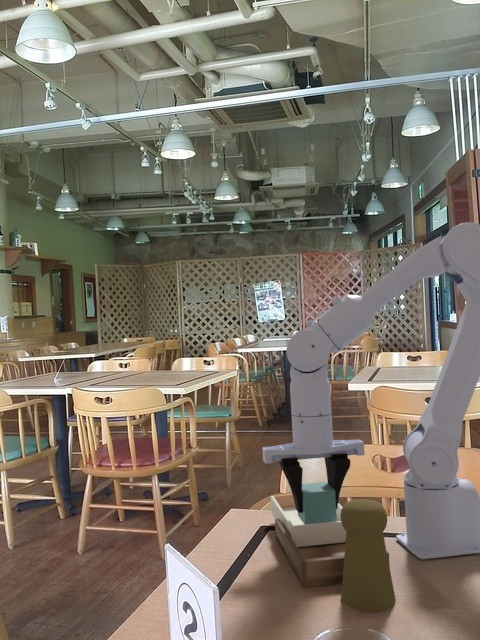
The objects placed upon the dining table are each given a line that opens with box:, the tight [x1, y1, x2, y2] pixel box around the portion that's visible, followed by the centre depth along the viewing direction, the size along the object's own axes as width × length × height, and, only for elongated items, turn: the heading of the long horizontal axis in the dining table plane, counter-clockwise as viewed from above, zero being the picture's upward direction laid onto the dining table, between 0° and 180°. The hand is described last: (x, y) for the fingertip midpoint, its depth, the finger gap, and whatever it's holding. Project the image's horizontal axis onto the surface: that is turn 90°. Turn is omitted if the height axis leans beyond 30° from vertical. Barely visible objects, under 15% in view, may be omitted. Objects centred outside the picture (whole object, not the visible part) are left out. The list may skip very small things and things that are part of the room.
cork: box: [340, 498, 397, 613], centre depth 65 cm, size 6×6×11 cm
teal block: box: [298, 481, 337, 524], centre depth 82 cm, size 4×4×4 cm
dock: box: [274, 518, 391, 588], centre depth 77 cm, size 11×16×3 cm
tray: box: [270, 493, 346, 547], centre depth 86 cm, size 9×15×3 cm, turn 8°
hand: (316, 509), depth 82 cm, fingers closed on teal block, 4 cm apart
